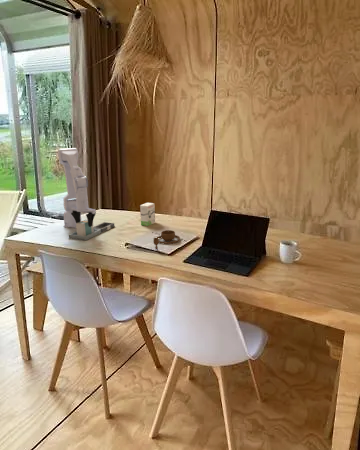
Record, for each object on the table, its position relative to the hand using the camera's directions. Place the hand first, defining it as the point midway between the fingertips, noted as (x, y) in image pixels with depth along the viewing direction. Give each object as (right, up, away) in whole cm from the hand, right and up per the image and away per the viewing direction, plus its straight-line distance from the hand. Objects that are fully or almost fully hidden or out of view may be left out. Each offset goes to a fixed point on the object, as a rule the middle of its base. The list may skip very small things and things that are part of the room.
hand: (84, 225), depth 193 cm
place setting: (+41, -9, -11) cm, 44 cm away
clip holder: (+7, -2, +13) cm, 15 cm away
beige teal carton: (0, -5, +2) cm, 5 cm away
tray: (0, -5, +2) cm, 6 cm away
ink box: (+32, +1, +21) cm, 38 cm away
